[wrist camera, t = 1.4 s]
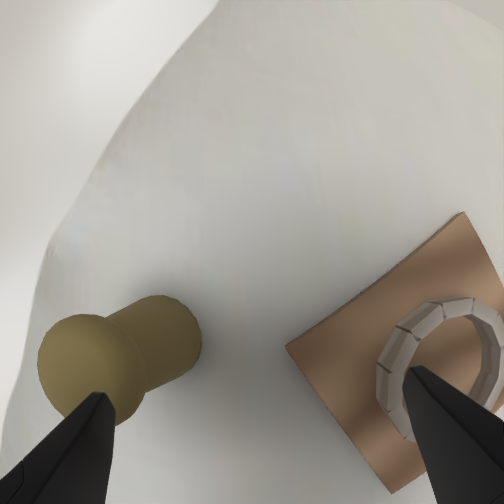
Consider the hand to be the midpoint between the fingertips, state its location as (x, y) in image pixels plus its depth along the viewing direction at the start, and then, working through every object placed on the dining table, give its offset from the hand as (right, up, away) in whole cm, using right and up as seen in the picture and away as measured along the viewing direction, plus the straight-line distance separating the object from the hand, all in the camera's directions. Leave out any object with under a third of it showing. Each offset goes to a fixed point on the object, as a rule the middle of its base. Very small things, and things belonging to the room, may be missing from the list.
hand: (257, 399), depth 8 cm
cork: (-7, -2, +13) cm, 15 cm away
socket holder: (+13, -4, +11) cm, 18 cm away
